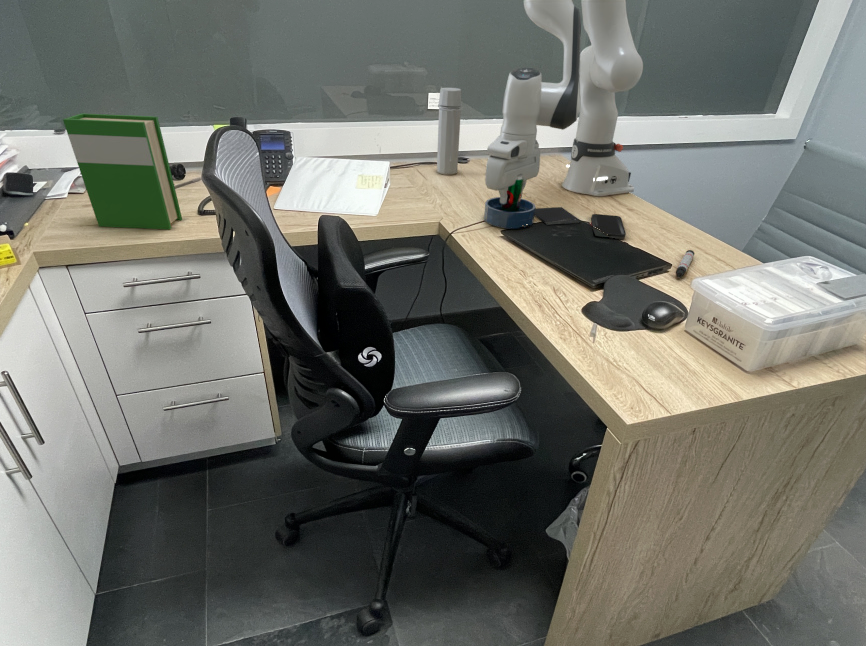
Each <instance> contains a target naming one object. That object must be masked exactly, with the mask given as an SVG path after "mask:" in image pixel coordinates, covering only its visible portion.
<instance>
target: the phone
mask: <svg viewBox="0 0 866 646" xmlns="http://www.w3.org/2000/svg"><path fill="white" fill-rule="evenodd" d="M590 220H591V227H592V226H594V227H596V228H598V229H600V230H601V231H602V232H604V233H605V234H608V236H611V237H612V238H611V239H613V238H615V239H614V240H625V238H626V235H627V234H626V230H625V226H624V223H623V218H622V217H621V216H619V215H612V214H603V213H602V214H601V213H592V214H591V218H590Z"/></svg>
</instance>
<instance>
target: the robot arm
mask: <svg viewBox="0 0 866 646" xmlns="http://www.w3.org/2000/svg"><path fill="white" fill-rule="evenodd" d="M626 1H627V0H580V3H581V4H580V5H581V12H580V9H579V8H578V7H576V5H575V4H574V1H573V0H523V7H524V11H525V13H526V15H527V17H528V18H529V19H530V21H531V22H532V23H534V24H535V25H536V26H537V27H539V28H540V29H543V30H544V31H546V32H548V33H549V34H551V35H553V36H555V37H556V38H558V39H559V40H560V42H561V43H562V45H563V46H562V47H563V64H562V65H563V67H562V80H561V81H560V82H547V81H546V82H545V81H542V79H543V78H542V77H543V76H542V72H541V71H540V70H539V69H537V68H534V67H529V66H528V67H526V66H525V67H517V68H514V69H512V70H511V71H510V72H509V74H508V77H507V80H506V84H505V85H506V86H505V89H504V92H503V96H502V104H501V113H502V116H503V118H502V119H503V120H502V124H501V126H500V134H499V135H498V136H497V137H496V138H495V139H494V140H493V142H491V143H490V144H489V145H488V146H487V150H486V155H488V158H487V161H486V166H485V177H484V178H485V179H484V182H485V187H486V188H487V189H489V190H492V191H497V192H498V194H499V197H500V203H502V204H506V203H508V202H509V196H507V191H508V187H509V186H512V185H514V184H515V181H516V179H517V176H518V175H522V174H523V175H522V176H523V186H522V192H523V191H524V189H525V187H526V185H527V181H528V180H532V179H533V178H536V177H537V176H538V174H539V173H540V166H541V150H540V148H539V147H540V143H539V142H538V140H537V135H538V134H537V133H538V128H537V126H541V127H549V128H553V129H558V130H561V131H562V130H563V131H564V130H566V129H568V128H569V127H571V126H572V125H574V124H575V122H576V121H577V120H578V121H577V126H576V127H577V128H576V134H575V138H574V139H573V142H572V147H571V153H570V161H569V162H570V163H569V164H566V166H565V167H566V168H568V169H567V172H566V175H565V177H564V180H563V182H562V184H561V187H562V188H563V189H565V190H568V191H570V192H573V193H578V194H583V195H589V196H594V197H606V196H613V195H622V194H628V193H634V191H635V187H634V185H632V184H631V183H629V182H630V179H631V175H632V172H630V171H629V169H628V167H627V166H626V165H625V164H624V163H623V162H622V161H621V160H620V158H618V156H617V155H616V151H617V152H618V153H620V152H622V151H623V149H624V146H623V144H620V143H616V142H615V141H614V136H615V133H616V132H615V131H616V127H617V122H618V117H619V111H618V108H617V105H616V104H617V103H616V93H622V92H623V93H624V92H627V91H630V90H631V89H633V88H634V87H635V86H636V85H638V83H639V81H640V79H641V77H642V74H643V71H644V63H643V58H642V57H641V55H640V54H639V53H638V51H637V48H636V45H635V42H634V39H633V34H632V32H631V27H630V23H629V19H628V15H627V14H628V13H627V4H626ZM581 15H582V19H581ZM582 24H583V29H584V30H585V32H586V34H587V36H588V39H589V41H590V43H591V44H590V45H588V46H586V47H585V48H584V49H583V50H582V51H581V48H582V47H581V45H582V44H581V41H582V40H581V39H582ZM522 197H523V193H522V194H521V198H522Z"/></svg>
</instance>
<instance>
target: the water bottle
mask: <svg viewBox="0 0 866 646" xmlns="http://www.w3.org/2000/svg"><path fill="white" fill-rule="evenodd" d="M437 107H438V128H437V152H436V153H437V155H436V156H437V157H436V172H437V174H440V175H444V176H453V175H455V174H456V173H458V169H459V168H458V167H459V150H460V134H461V133H460V132H461V115H462V114H461V113H462V110H463V109H464V107H463V105H462V89H461V88H458V87H441V88H440V90H439V99H438V104H437Z"/></svg>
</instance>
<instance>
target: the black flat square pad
mask: <svg viewBox="0 0 866 646" xmlns="http://www.w3.org/2000/svg"><path fill="white" fill-rule="evenodd" d="M534 217H535V218H537V219H538V220H540V221H541V222H542V223H543V224H545V223H544V222H552V221H558V220H563V219H567V218H571V219H576V220H579V221H581V219H580V218H578V217H576V216H575V215H573V214H572V213H571V212H569V211H568V210H566V209H565V208H564V207H562V206H557V207H556V206H555V207H536V209H535V216H534Z"/></svg>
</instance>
